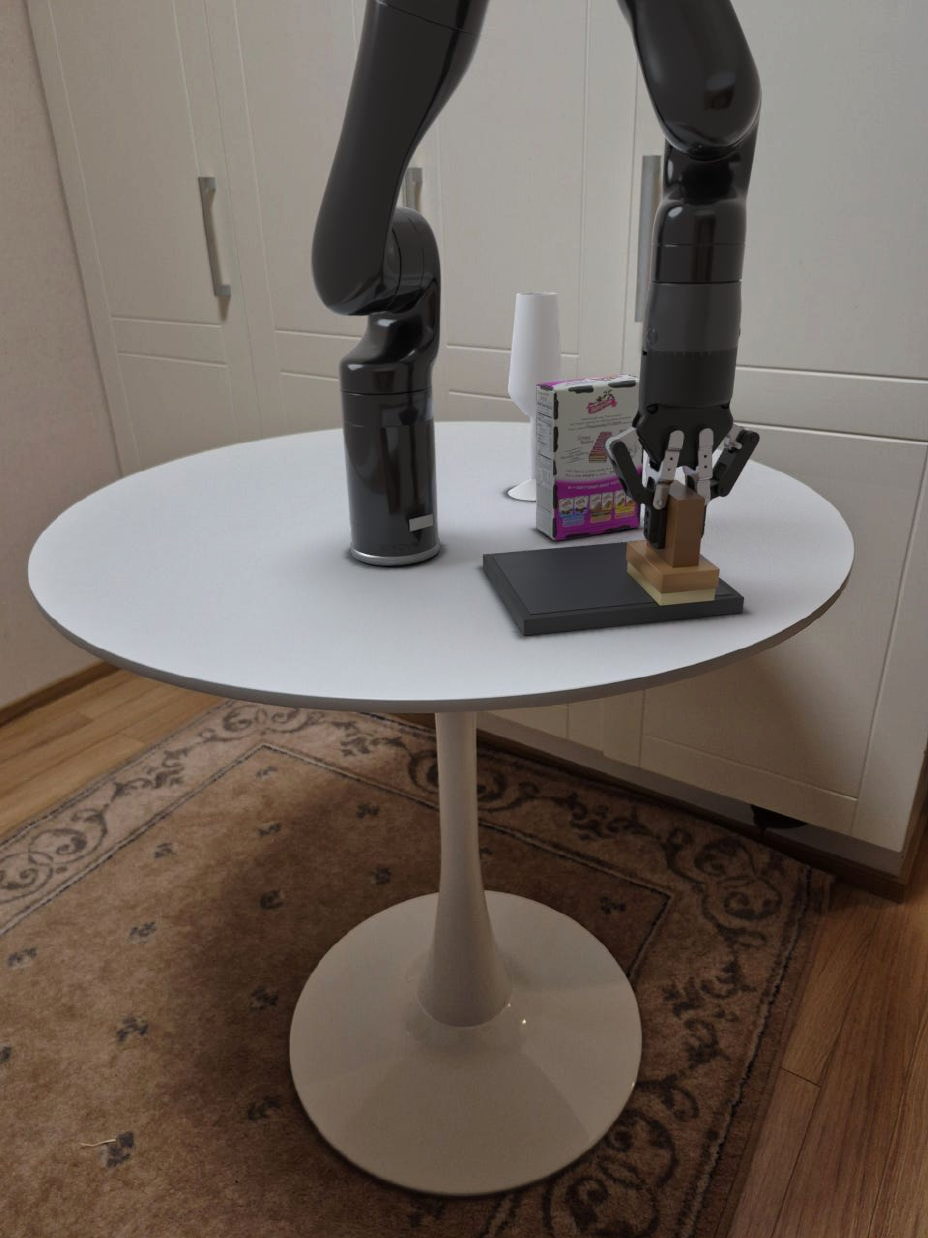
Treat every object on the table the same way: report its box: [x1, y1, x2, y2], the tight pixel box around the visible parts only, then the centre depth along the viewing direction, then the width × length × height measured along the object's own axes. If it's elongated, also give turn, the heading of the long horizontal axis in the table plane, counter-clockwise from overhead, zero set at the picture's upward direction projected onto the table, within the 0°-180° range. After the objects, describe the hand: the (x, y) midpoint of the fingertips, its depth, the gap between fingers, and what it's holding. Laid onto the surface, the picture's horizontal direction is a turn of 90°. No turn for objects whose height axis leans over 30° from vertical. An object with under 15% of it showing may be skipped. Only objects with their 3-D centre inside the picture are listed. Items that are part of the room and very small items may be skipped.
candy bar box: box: [535, 374, 645, 542], centre depth 94 cm, size 11×5×16 cm, turn 112°
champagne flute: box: [507, 291, 564, 502], centre depth 105 cm, size 7×7×24 cm
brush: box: [626, 478, 721, 606], centre depth 76 cm, size 8×5×9 cm, turn 11°
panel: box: [482, 539, 745, 637], centre depth 81 cm, size 16×20×2 cm
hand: (672, 544), depth 76 cm, fingers closed on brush, 2 cm apart
